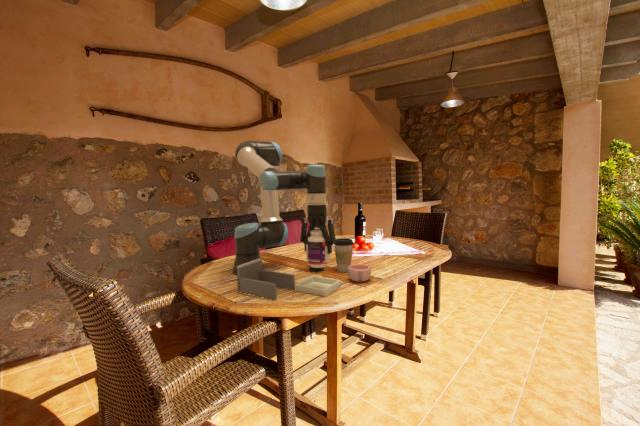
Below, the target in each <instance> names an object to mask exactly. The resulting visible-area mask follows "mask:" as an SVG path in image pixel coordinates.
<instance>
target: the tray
mask: <svg viewBox="0 0 640 426" xmlns="http://www.w3.org/2000/svg"><path fill="white" fill-rule="evenodd" d="M340 287H342V280H341V279H337V278H336V279H335V278H328V277H322V276H316V275H312V276H310V277H308V278H306V279H304V280H301V282H299V283H296V284H295V289H294V290H295V292H298V293H303V294H309V295H311V296H312V295H314V296H319V297H324V298H326V297H328V296H329V295H330V294H332V293H333V292H335V291H336V290H337V289H339V288H340Z"/></svg>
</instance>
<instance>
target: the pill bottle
mask: <svg viewBox="0 0 640 426" xmlns="http://www.w3.org/2000/svg"><path fill="white" fill-rule="evenodd" d="M326 245H327V244H326V242H325V239H324V237H323V234H322V232H321V230H312V231H311V236H310V237H309V238H308V260H307V263H308V267H309V266H310V267H313V268H322V267H324V268H326V267H327V266H328V265H329V262H325V246H326Z"/></svg>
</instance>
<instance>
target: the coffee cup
mask: <svg viewBox="0 0 640 426" xmlns="http://www.w3.org/2000/svg"><path fill="white" fill-rule="evenodd" d="M333 245H334V254H335V260H336V261H335V262H336V265H337V267H336V270H337V271H338V272H341V273H342V272H346V273H348V267H349V266H350V265H352V259H353V258H352V257H353V245H354V242H353V239H351V238H345V237H343V238H342V237H341V238H336V244H333Z"/></svg>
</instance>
